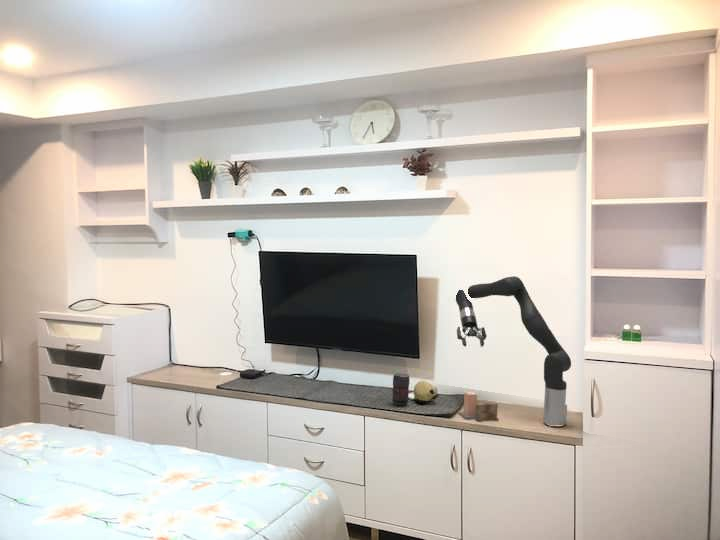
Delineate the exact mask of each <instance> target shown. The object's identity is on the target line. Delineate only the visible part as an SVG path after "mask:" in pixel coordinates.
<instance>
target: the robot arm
mask: <svg viewBox="0 0 720 540" xmlns="http://www.w3.org/2000/svg"><path fill="white" fill-rule="evenodd" d="M468 294H469V296H470V297H471V298H475V299H483V298H487V297H490V296H499V297H501V296H502V297H514V299H515V300H516V302H517V303H518V306H519V309H520V319H521V322H522V324H523V326H524V327H525V329H526V331H527V332H528V334H529V335H530V336H531V337H532V338H533V339H534V340H535V341H536V342H538V344H540V345H541V346H542V347H543V348H544V349H545V350H546V352H547V355H546V356H545V358H544V363H543V380H544V382H545V383H544V400H543V413H542V414H543V416H542V423H543V422H544V423H546V424H549V425H563V424H566V425H567V413H568V404H566V400H567V399H566V398H567V382H566V381H565V380H564V377H563V374H564V372H567V371H569V370H570V368H571V366H572V360H571V357H570V356H569V354H568V352H567V351H566V350H565V349H564V348H563V347H562V345H561V344H560V343H559V341H558V340H557V338H556V337H555V336H554V334H553V332H552V330H551V329H550V328H549V326H548V324H547V322H546V321H545V319H544V317H543V316H542V314H541V312H540V311H539V310H538V308H537V306H536V305H535V303H534V302H533V300H532V298H531V296H530V295H529V292H528V290H527V287H526V286H525V284H524V283H523V281H522V279H520V278H519V277H518V276H515V275H514V276H506V277H504V278H501V279H499V280H496V281H494V282H493V281H492V282H490V283H479V284H478V283H477V284H473V285H470V286H469V287H468ZM455 301H456V304H457V306H458V309H459V316H460V323H461V327H460V326H457V328H456V336H457V339H458V340H461V342H462V346H463V347H467V341H466V340H467V339H466V338H467V337H475V338H476V339H478V340H479V344H480V347H481V348H482V347H484V345H485V341H486V339H487V332H486V330H485V327H483V326H482V327H481V328H480V327H479V326H478V321H477V317H476V314H475V311H474V306H473V303H472V301H471V302H470V301H469V300H468V299H467V297H466V295H465V293H464V291H463V290H459V291H458V293H457V295H456V300H455ZM462 332H463V335H462Z"/></svg>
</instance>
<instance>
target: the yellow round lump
mask: <svg viewBox="0 0 720 540" xmlns="http://www.w3.org/2000/svg"><path fill="white" fill-rule="evenodd" d="M438 393H439V391H438V388H437V387H436V386H433V385H432V383H430V382H428V381H425V380H420V381H418V382H416V384H415V385H414V387H413V395H414V400H418V399H419V400H418V401H420V400H425V401H427V402H429V401H431V400H432V399H433V398H434V397H436V396H437V395H438Z"/></svg>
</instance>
